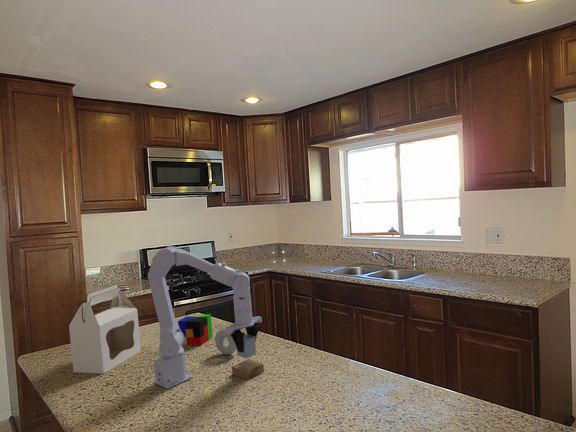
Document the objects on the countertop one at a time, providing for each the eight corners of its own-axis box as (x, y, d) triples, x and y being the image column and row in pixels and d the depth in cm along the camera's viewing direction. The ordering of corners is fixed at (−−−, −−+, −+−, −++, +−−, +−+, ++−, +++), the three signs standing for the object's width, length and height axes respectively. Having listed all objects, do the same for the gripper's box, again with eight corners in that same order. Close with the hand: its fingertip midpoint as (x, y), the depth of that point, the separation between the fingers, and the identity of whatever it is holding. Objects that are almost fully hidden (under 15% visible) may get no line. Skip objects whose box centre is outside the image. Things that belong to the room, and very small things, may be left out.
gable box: (103, 374, 142) (95, 296, 141) (72, 372, 146) (65, 296, 145) (141, 350, 164) (135, 282, 163) (113, 349, 167) (107, 283, 166)
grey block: (246, 358, 131) (245, 340, 131) (236, 355, 134) (235, 337, 134) (256, 354, 134) (255, 336, 134) (247, 351, 138) (245, 333, 137)
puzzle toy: (179, 344, 167) (177, 321, 167) (192, 336, 177) (190, 314, 176) (201, 345, 164) (199, 321, 164) (212, 337, 174) (210, 314, 174)
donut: (240, 354, 151) (238, 328, 151) (235, 357, 148) (233, 331, 148) (220, 351, 156) (218, 325, 156) (214, 354, 153) (212, 328, 153)
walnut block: (247, 381, 129) (246, 372, 129) (232, 375, 134) (231, 366, 134) (263, 372, 135) (263, 363, 135) (249, 367, 140) (248, 358, 140)
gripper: (234, 316, 126) (237, 359, 126) (266, 305, 136) (269, 344, 137) (220, 313, 130) (223, 354, 131) (252, 302, 141) (255, 340, 142)
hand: (246, 349), depth 134 cm, fingers closed on grey block, 4 cm apart
